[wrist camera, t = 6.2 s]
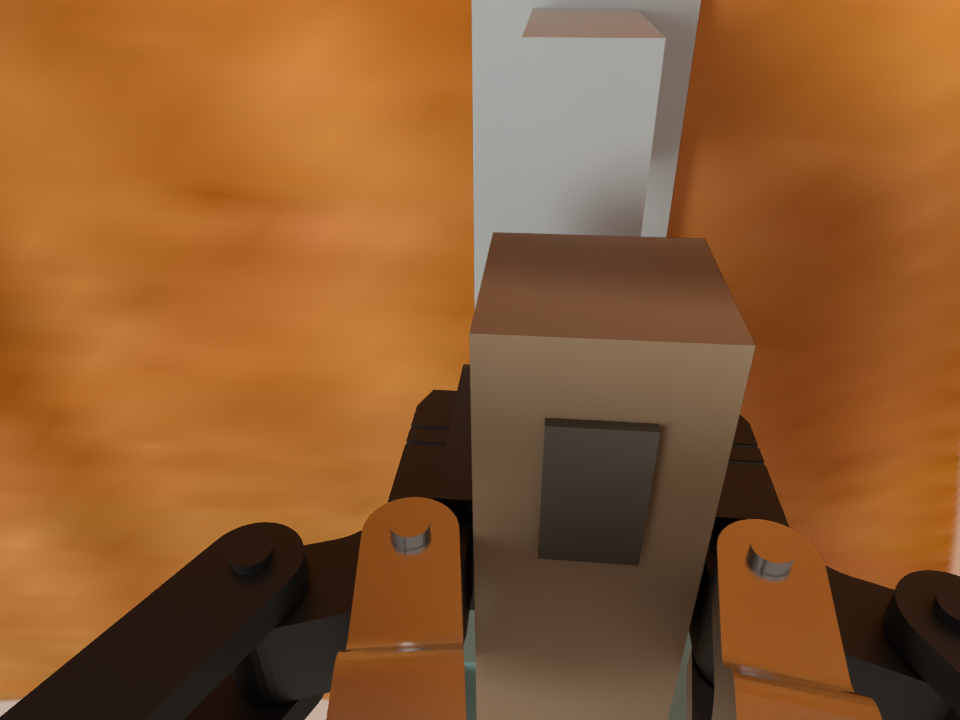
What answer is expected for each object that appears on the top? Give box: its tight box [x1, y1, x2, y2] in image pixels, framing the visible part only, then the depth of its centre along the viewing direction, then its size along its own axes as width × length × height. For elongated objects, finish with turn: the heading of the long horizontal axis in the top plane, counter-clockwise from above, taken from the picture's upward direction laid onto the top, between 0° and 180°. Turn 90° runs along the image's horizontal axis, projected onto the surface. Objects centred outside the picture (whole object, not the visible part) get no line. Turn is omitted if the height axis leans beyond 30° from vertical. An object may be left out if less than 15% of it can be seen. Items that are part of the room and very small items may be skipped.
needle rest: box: [472, 0, 701, 308], centre depth 14 cm, size 11×4×5 cm, turn 0°
